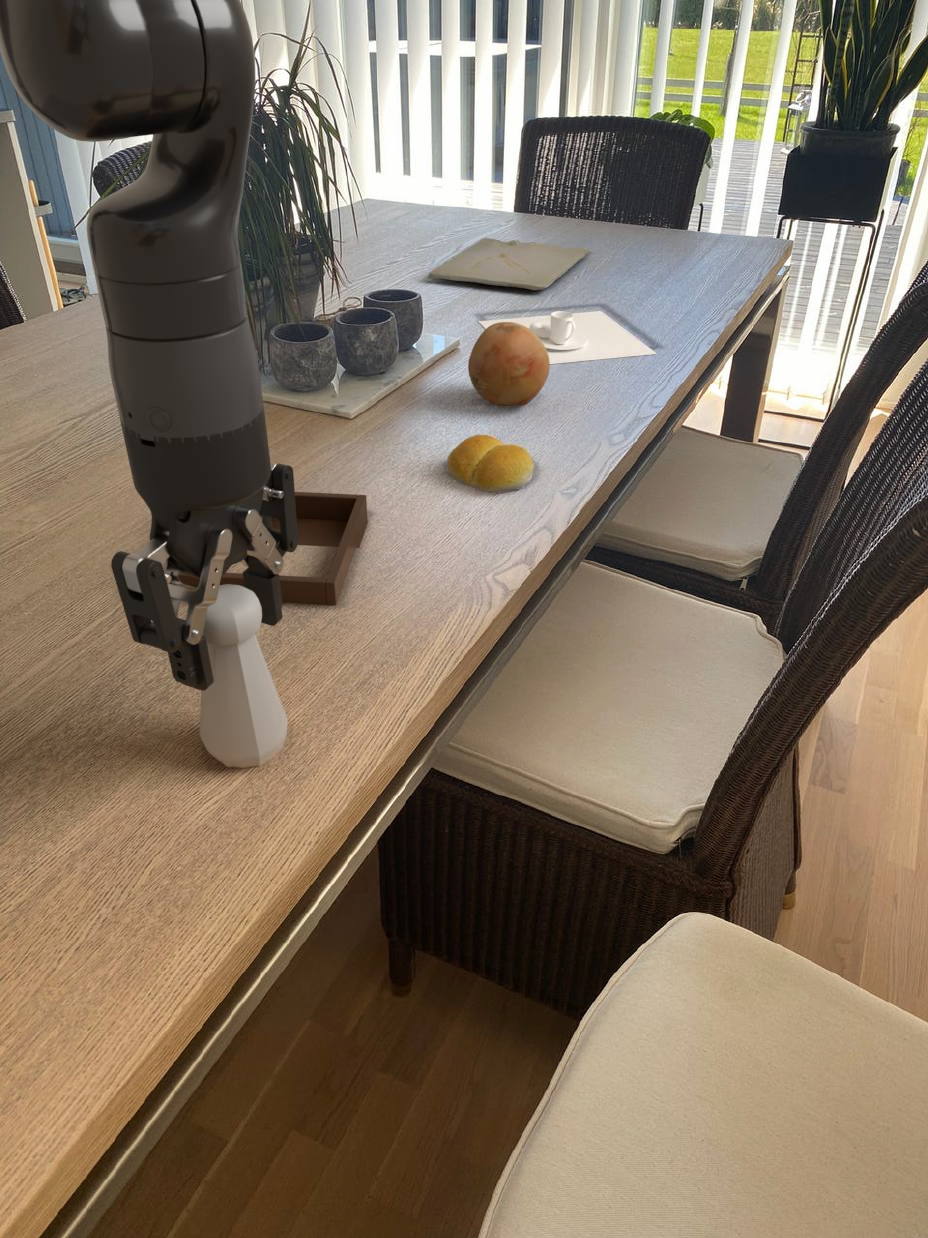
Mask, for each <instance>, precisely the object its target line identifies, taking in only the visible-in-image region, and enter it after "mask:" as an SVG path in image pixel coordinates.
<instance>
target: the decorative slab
mask: <svg viewBox="0 0 928 1238" xmlns="http://www.w3.org/2000/svg"><path fill="white" fill-rule="evenodd" d="M588 254H589V249H587V248H581V247H579V248H578V247H567V246H565V247H564V246H558V245H553V244H546V243H540V242H533V241H532V242H531V241H530V242H529V241H528V242H521V241H520V240H517V239H513V240H512V239H511V240H509V241H503V240H499V239H495V238H489V237H483V238H482V239H481V240H480V241H478V242H476V243H474V244H473V245H471V246H470V247H467V248H466V249H464V250H463V251H462V252H459V253H458V254H457V255H455V256H453V257H451V259H449V260H448V261H446V262H444V263H442V264H440V265H438V266H437V267H435V268H434V269H433V270H431V271H430V272H429V273H428V277H429V278H430V279H442V280H450V281H457V282H469V283H477V284H482V285H483V284H484V285H490V286H499V287H500V286H501V287H508V288H509V287H510V288H520V289H528V290H531V291H542V290H545V289H547V288H548V287H550V285H553V284H554V283H555V281H556V280H558V279H559V278H561V277H562V276H563V275H564V274H566V273H567V271H568V270H570V269H571V268H573V266H574V265H575V264H577V263H578V262H579V261H580V260H581V259H584V258H585V256H586V255H588Z"/></svg>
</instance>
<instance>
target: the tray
mask: <svg viewBox="0 0 928 1238" xmlns="http://www.w3.org/2000/svg"><path fill="white" fill-rule="evenodd" d="M295 503H296V518H297V532H298V545H297V546H309V547H327V548H328V547H329V548H337V550H336V552H335V555H334V558H333V560H332V564H331V566H330V569H329V571H328V574H327V577H318V576H317V577H316V576H300V575H281V574H279V578H280V586H281V595H282V604H283V603H284V604H300V605H301V604H302V605H320V606H321V605H322V606H337V605H338V602H339V599H340V596H341V593H342V590H343V587H344V585H345V582H346V579H347V576H348V573H349V570H350V567H351V564H352V562H353V558H354V556H355V552H356V550H357V549H360V547H361V544H362V542H363V539H364V535H365V532H366V529H367V527H368V524H369V519H368V505H367V504H368V503H367V495H366V494H351V493H332V492H313V491H311V492H310V491H295ZM272 528H273V529H275V530H279V531H281V530H280V522H279V520H278V519H277V518H273V517H272ZM178 576H179V580H180V582H181V583H183V584H185V585H189V586H192V587H196V588H197V587H198V586H199V583H200V579H198V578H195V577H191V576H188V575H185V574H183V573H182V572H181V571H179V575H178ZM225 584H232V585H240V586H242V587H245V585H244V578H243V572H242V573H241V572H226V573H225V574H224V575H223V576H222V577H221V580H220V585H225Z"/></svg>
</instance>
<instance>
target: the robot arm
mask: <svg viewBox="0 0 928 1238" xmlns="http://www.w3.org/2000/svg"><path fill="white" fill-rule="evenodd" d="M255 53H256V52H255V48H254V42H253V36H252V31H251V27H250V24H249V20H248V18H247V14H246V11H245V8H244V6H243V5H242V2H241V0H0V54H1V57H2V61H3V64H4V67H5V70H6V72H7V75H8V77H9V79H10V81H11V83H12V85H13V87H14V89H15V90H16V92H17V94H18V95H19V97H20V98H21V99H22V100H23V102H24V103H25V104H26V105H27V107H29V109H30V110H31V111H32V112H33V113H34V114H35V115H36V116H37V117H38V118H39V119H40V120H42V121H43V123H45V124H47V125H48V126H49V127H50V128H52V129H53V130H55V131H56V132H58V133H59V134H61V135H63V136H65V137H67V138H69V139H72V140H75V141H80V142H87V143H98V142H107V141H116V140H122V139H123V140H124V139H128V138H136V137H143V136H144V137H145V136H152V139H151V144H150V145H151V146H150V151H149V155H148V158H147V159H148V160H147V163H146V166H145V169H144V171H143V173H142V174H141V175H139V177H138V178H137V179H136V180H134V181H132V182H131V183H129V184H128V185H126V186H124V187H122V188H121V189H119V190H116V191H114V192H112V193H111V194H108V195H106V196H105V197H103V198H102V199H100V200H98V201H97V202H96V203H95V204H94V205H93V206H92V207H91V209H90V211H89V212H88V215H87V219H86V237H87V244H88V249H89V253H90V259H91V264H92V269H93V273H94V274H93V275H94V278H95V283H96V289H97V291H98V292H97V293H98V297H99V298H98V299H99V303H100V307H101V312H102V317H103V323H104V325H105V332H106V338H107V339H106V340H107V353H108V357H107V358H108V366H109V372H110V378H111V384H112V388H113V394H114V398H115V402H116V407H117V411H118V417H119V421H120V426H121V431H122V435H123V439H124V444H125V445H124V446H125V450H126V454H127V458H128V459H127V460H128V464H129V469H130V473H131V478H132V483H133V486H134V488H135V491H136V492H137V494H138V495H139V496H140V498H141V499H142V500H143V501H144V503H145V505H146V506H147V507H148V509H149V512H150V514H151V523H150V529H149V530H150V531H149V541H148V542H147V543H145V544H144V545H143V546H141V547H140V548H139V549H138V550H136V551H135V552H134V553H130V552H127V551H123V550H120V551H117V552H116V553H115V554H114V555H113V556H112V558H111V562H110V567H111V571H112V574H113V577H114V580H115V584H116V587H117V590H118V591H117V592H118V594H119V598H120V600H121V604H122V607H123V611H124V614H125V618H126V621H127V624H128V627H129V630H130V635H131V637H132V640H133V641H134V642H135V643H138V644H142V645H147V646H150V647H152V648H156V649H159V650H162V651H163V652H166V653H167V655H168V660H169V664H170V668H171V673H172V678H173V679H174V680H175V682H177V683H179V684H182V685H184V686H187V687H190V688H193V689H196V690H199V691H201V690H202V691H205V690H206V689H207V688H208V687H209V686H210V685H212V684H213V682H214V679H213V674H212V668H211V663H210V657H209V652H208V647H207V641H206V637H205V636H202V635H203V630H204V624H205V619H206V614H207V609H208V607H209V606H210V605H213V604H214V603H215V602H216V600H217V596H218V591H219V585H220V580H221V577H222V576H223V575H224V574H225V573H228V570H230V568H231V567H232V566H233V565H236V564H239V563H241V565H243V566H244V567H247V568H245V569H244V570H243V571H242V573H243V578H244V585H245V588H247V589H249V590H251V591H253V592H254V593H255V595H256V596H257V598H258V599H259V602H260V605H261V608H262V620H261V624H264V625H268V626H272V627H274V626H276V625H278V623H280V622H281V620H282V619H283V610H282V609H283V603H282V595H281V586H280V578H279V575H280V573H281V572H282V570H283V568H284V565H285V561H284V556H285V555H286V553H287V552H288V553H294V552H295V551H296V550H297V547H298V546H299V545H298V532H297V518H296V503H295V492H296V489H295V476H294V469H293V466H291V465H288V464H283V463H280V462H275V461H271V455H270V447H269V440H268V439H269V438H268V431H267V424H266V423H267V421H266V414H265V405H264V397H263V389H262V383H261V382H262V381H261V371H260V365H259V358H258V353H257V350H256V344H255V342H254V338H253V334H252V329H251V326H250V320H249V316H248V307H247V306H248V305H247V297H246V291H245V283H244V274H243V267H242V261H241V260H242V259H241V252H240V245H239V235H238V234H239V223H240V214H241V208H242V201H243V195H244V187H245V177H246V168H247V159H248V152H249V151H248V150H249V145H250V137H251V129H252V123H253V114H254V107H255V96H256V95H255V93H256V83H257V82H256V80H257V77H256V55H255ZM272 517H273V518H277V519H278V520H279V522H280V530H281V531H279V530H275V529H273V528H272ZM179 571H181V572H182V573H183V574H185V575H188V576H191V577H195V578H198V579H200V583H199V586H198V587H197V588H196V587H192V586H189V585H185V584H183V583H181V582H180V580H179V576H178V575H179ZM181 601H183V602H185V603H186V604H187V611H186V616H185V619H183V618H180V617H178V614H179V609H180V603H181Z"/></svg>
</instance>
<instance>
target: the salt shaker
mask: <svg viewBox="0 0 928 1238" xmlns="http://www.w3.org/2000/svg"><path fill="white" fill-rule="evenodd" d="M261 620H262V608H261V605H260V602H259V599H258V598H257V596H256V595H255V593H254V592H253V591H251V590H249V589H247V588H245V587H242V586H240V585H232V584H225V585H219V591H218V596H217V600H216V602H215V603H214V604H213V605H210V606H209V607H208V609H207V614H206V619H205V624H204V630H203V635H202V636H205V637H206V641H207V647H208V652H209V657H210V663H211V668H212V674H213V679H214V682H213V684H212V685H210V686H209V687H208V688H207V689H206V690H205V691H202V690H200V713H199V738H200V740H201V741H202V743H203V745H204V747H205V749H206V751H207V753H208V754H210V755H211V756H212V757H213V758H214V759H216V760H217V761H218V762H220V763H222V764H223V765H224V766H225V767H226V768H237V769H238V768H239V769H247V768H251V767H261V766H262V765H263V764H264V763H265V762H267V761H269V760H271V759H273V758H274V757H275V755H276V754H277V753H278V752H279V751H280V750H281V749H283V747H284V745H285V742H286V739H287V733H288V724H289V718H288V716H287V713H286V710H285V708H284V705H283V703H282V699H281V697H280V695H279V692H278V690H277V687H276V684H275V683H274V680H273V677H272V674H271V672H270V670H269V667H268V664H267V662H266V659H265V656H264V654H263V651H262V649H261V646H260V644H259V641H258V638H257V634H256V633H258V632H259V631H260V629H261V625H262V623H261Z"/></svg>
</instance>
